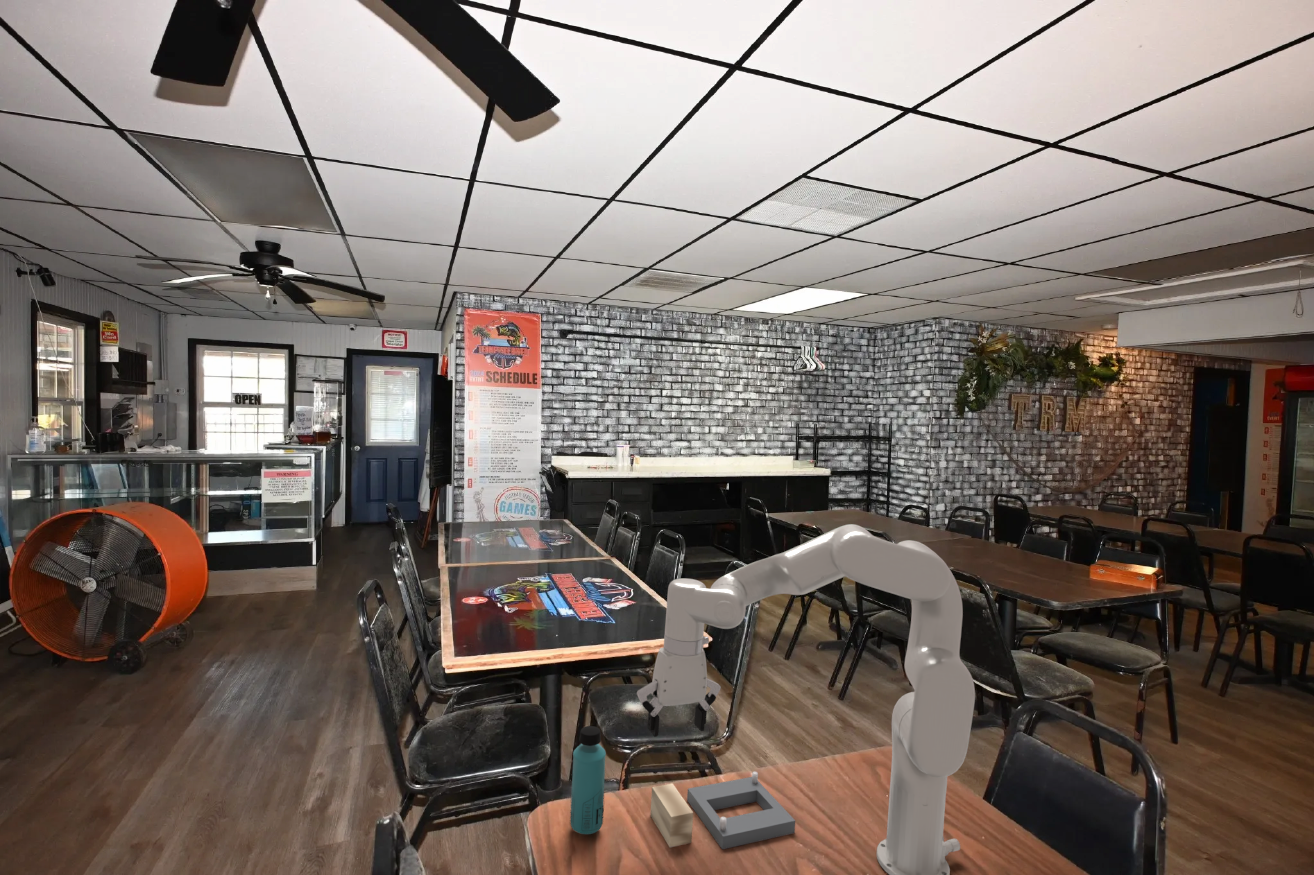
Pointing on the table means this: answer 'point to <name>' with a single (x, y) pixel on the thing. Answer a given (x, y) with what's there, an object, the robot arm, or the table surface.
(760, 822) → the slot board
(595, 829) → the beverage bottle
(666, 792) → the key block
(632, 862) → the table surface
